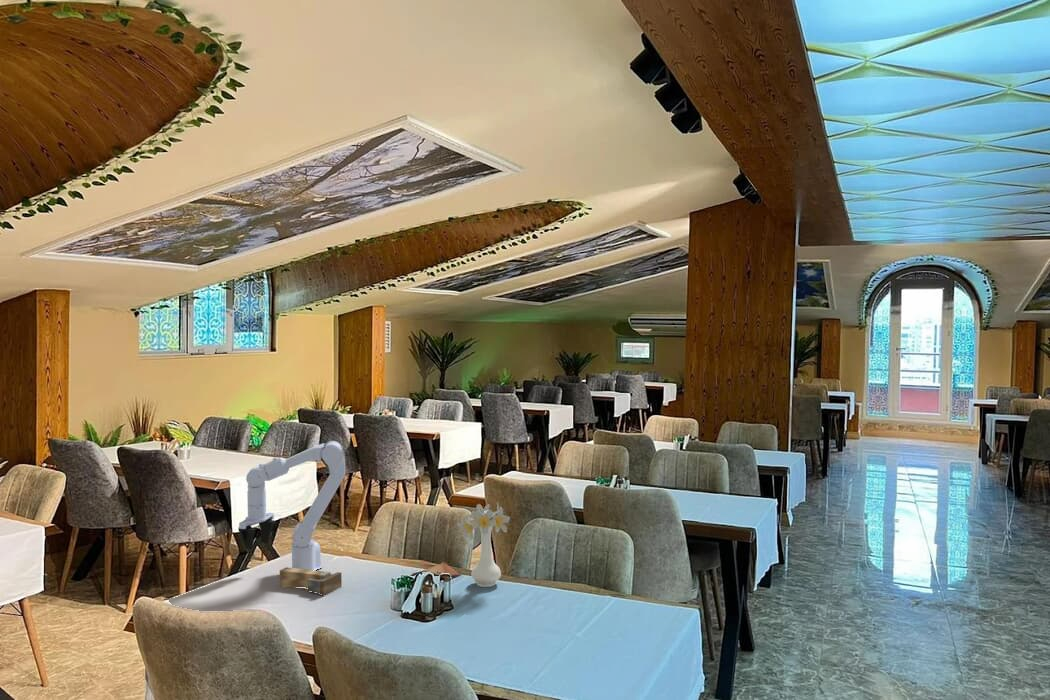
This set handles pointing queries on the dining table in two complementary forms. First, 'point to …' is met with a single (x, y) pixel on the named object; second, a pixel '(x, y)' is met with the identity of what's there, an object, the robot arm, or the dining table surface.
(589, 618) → the dining table surface
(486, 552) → the flower vase
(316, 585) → the wooden channel piece
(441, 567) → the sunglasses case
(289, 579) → the bed rail
